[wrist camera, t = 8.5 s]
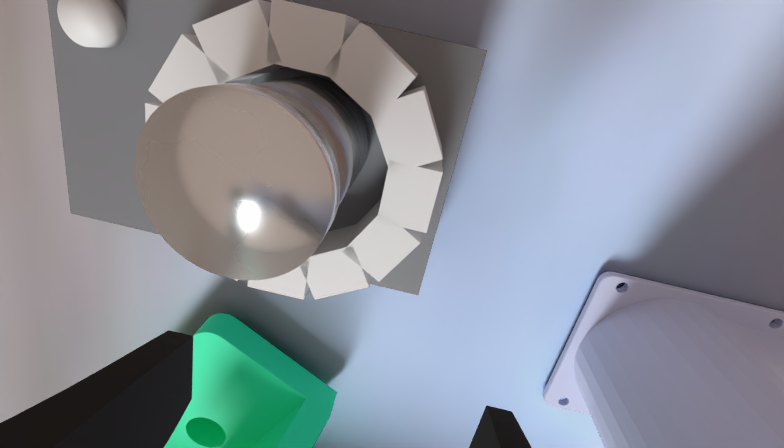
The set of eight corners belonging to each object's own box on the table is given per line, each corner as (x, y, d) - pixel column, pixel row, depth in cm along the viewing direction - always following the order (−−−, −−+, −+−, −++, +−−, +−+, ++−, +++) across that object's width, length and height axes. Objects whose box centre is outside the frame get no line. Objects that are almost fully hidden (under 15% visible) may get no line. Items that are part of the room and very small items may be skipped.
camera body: (476, 51, 16) (496, 49, 11) (420, 254, 19) (415, 326, 14) (121, -32, 16) (-26, -72, 11) (131, 186, 19) (23, 233, 14)
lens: (387, 96, 13) (354, 125, 8) (354, 211, 15) (308, 303, 9) (263, 55, 13) (138, 55, 8) (243, 176, 15) (130, 248, 9)
